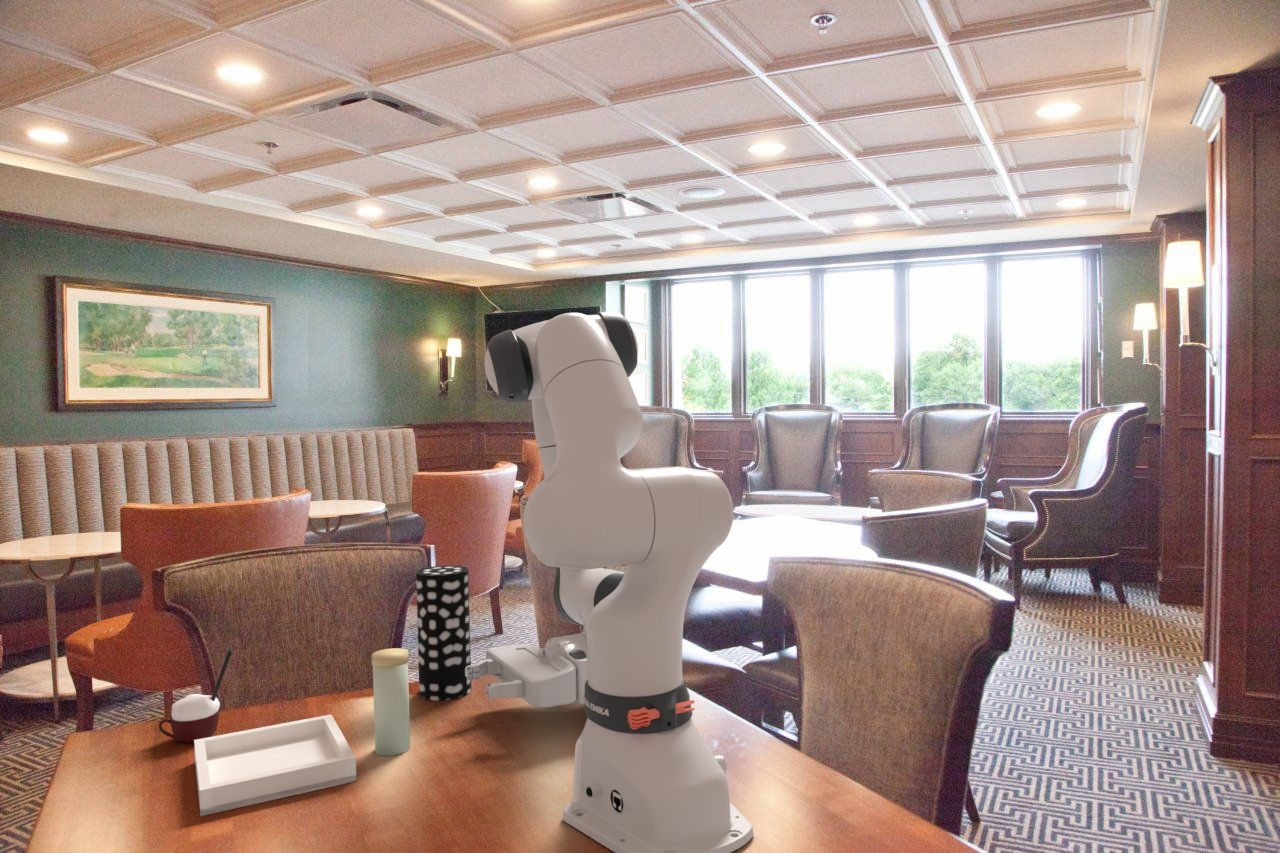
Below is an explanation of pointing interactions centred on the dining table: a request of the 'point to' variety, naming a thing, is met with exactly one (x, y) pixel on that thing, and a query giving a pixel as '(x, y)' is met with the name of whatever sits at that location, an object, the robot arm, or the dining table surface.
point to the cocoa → (196, 714)
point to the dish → (271, 763)
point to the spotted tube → (443, 632)
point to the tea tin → (391, 701)
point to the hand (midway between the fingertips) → (476, 682)
